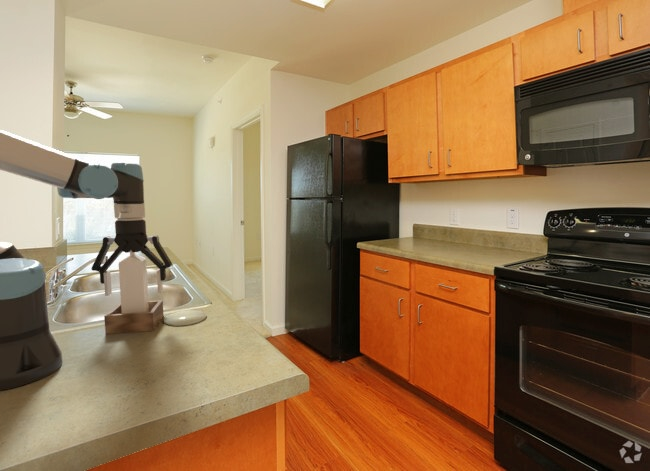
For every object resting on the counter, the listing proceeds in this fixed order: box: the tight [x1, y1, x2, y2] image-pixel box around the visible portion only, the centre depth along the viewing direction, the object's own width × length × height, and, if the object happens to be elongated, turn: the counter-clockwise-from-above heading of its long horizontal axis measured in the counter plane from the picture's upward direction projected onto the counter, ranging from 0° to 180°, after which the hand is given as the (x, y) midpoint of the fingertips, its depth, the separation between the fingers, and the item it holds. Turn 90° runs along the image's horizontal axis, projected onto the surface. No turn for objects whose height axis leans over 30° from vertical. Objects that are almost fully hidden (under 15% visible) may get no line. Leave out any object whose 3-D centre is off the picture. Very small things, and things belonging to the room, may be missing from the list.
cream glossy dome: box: [163, 309, 207, 327], centre depth 106 cm, size 12×12×1 cm
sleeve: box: [104, 299, 164, 335], centre depth 100 cm, size 12×12×5 cm
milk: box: [118, 250, 149, 314], centre depth 100 cm, size 6×6×22 cm
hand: (134, 293), depth 100 cm, fingers open, 13 cm apart
